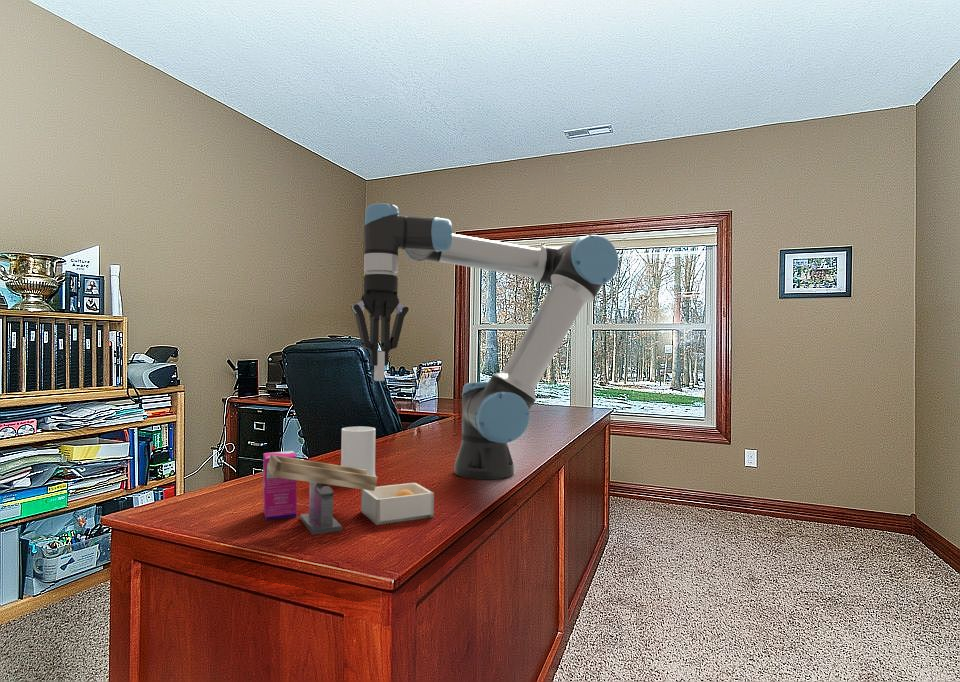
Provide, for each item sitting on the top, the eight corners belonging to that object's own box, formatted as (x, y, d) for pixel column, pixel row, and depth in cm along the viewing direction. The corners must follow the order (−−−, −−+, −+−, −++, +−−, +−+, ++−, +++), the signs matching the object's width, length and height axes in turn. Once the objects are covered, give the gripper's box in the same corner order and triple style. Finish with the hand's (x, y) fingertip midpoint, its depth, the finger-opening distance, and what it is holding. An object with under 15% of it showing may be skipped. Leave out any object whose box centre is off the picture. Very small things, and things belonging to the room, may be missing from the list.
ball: (414, 491, 114) (397, 484, 112) (422, 496, 110) (404, 489, 109) (405, 510, 113) (388, 504, 111) (413, 516, 109) (395, 509, 108)
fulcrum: (327, 515, 109) (328, 474, 109) (341, 530, 100) (342, 486, 100) (300, 518, 106) (301, 477, 106) (312, 534, 97) (313, 489, 97)
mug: (355, 470, 147) (356, 423, 147) (386, 472, 145) (387, 425, 145) (333, 481, 136) (334, 430, 136) (366, 483, 134) (367, 432, 134)
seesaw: (353, 475, 116) (356, 463, 116) (374, 490, 104) (377, 477, 104) (261, 461, 107) (265, 448, 108) (273, 476, 96) (277, 461, 96)
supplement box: (262, 512, 110) (263, 452, 110) (294, 509, 112) (295, 450, 113) (263, 520, 105) (264, 457, 105) (297, 517, 107) (298, 455, 107)
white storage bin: (414, 504, 117) (415, 482, 117) (433, 516, 109) (433, 493, 109) (361, 511, 111) (361, 488, 111) (376, 525, 103) (376, 499, 103)
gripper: (402, 278, 135) (400, 379, 134) (347, 274, 128) (345, 380, 128) (414, 275, 128) (412, 381, 128) (357, 270, 122) (355, 382, 122)
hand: (379, 380), depth 128 cm, fingers closed
